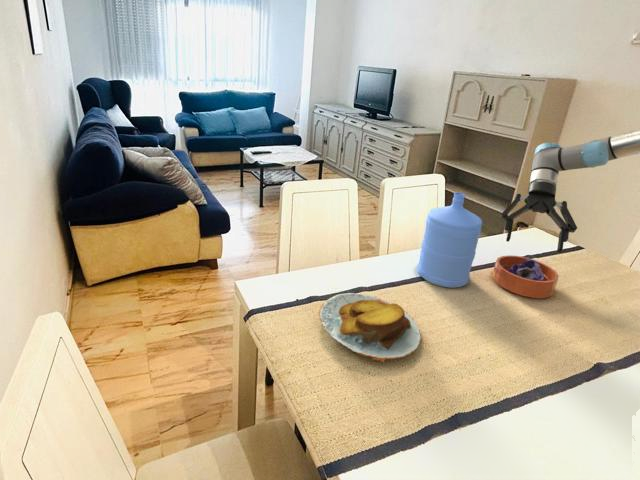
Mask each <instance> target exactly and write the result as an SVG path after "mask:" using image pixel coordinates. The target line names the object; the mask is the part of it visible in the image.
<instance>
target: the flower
mask: <svg viewBox="0 0 640 480" xmlns="http://www.w3.org/2000/svg"><path fill="white" fill-rule="evenodd" d="M529 259H530V260H527V261H523V263H522V264H518V265H514V266H513V267H511V268H510V269H509V272H510V273H512V274H515V275H517V276H519V277H523V278H526V279H530V280H536V281H543V280H544V276H543V274H542V271H541V269H540V265H539V264H538V263H537V262H536V261H537V260H536V259H533V258H529ZM535 260H536V261H535Z"/></svg>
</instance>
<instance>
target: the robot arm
mask: <svg viewBox="0 0 640 480" xmlns="http://www.w3.org/2000/svg"><path fill="white" fill-rule="evenodd" d="M639 154H640V128H635V129H633V130H632V129H631V130H629V131H627V132H626V131H625V132H621V133H618V134H614V135H611V136H607V137H604V138H600V139H598V138H597V139H594V140H591V141H588V142H584V143H581V144H575V145H570V146H566V147H562V145H560V144H559V143H556V142H543V143H541V144H539V145H537V146H536V148H535V150H534V154H533V157H532V165H531V172H530V177H529V182H528V189H527V195H526V196H524V195H522V194H521V193H517V194H516V196H515V199H514V200H512V201H511V202H510V204H509V205H508V206H507V207H506V208H505V209H504V210H503V211H502V212H501V214H500V216H499V219H500V220H503V221H504V222H505V223H504V231H507V234H506V240H505V241H506V242H510V240H511V238H512V236H511V235H512V231H513V227H514V220H516V219H517V218H518V217H520V216H521V215H523V214H525V213H527V212H529V211H531V212H532V213H539V214H546V215H547V216H548V217H549V218H550V219H551V220H552V221H553V222H554V223H555V224H556V226H557V227H558V228H559V230H560V231H559V233H558V234H559V235H558V241H557V249H556V252H558V253H561V252H562V251H563V249H564V244H565V243H567V242H568V240H569V235H570V233H571V234H572V233H575V232H576V231H577V230H578V226H577V224H576V223H575V220H574V218H573V216H572V215H571V213H570V210H569V209H568V202H567V201H566V200H563V201H556V194H557V186H558V181H559V180H558V179H559V173H560V172H564V171H571V170H580V169H581V170H582V169H587V168H588V169H590V168H592V169H593V168H597V167H602V166H605V165H607V163H608V162H609V161H613V160H617V159H618V160H619V159H621V158H626V157H631V156H635V155H639ZM522 202H524V203H525V204H524V205H523V206H522V207H520V208H518V209H517V210H515V211H514V212H512V211H513V210H514V209H515V208H516V207H517V206H518V204H519V203H522ZM556 207H557V209H558V210H559V211H560V214H561V216H562V217H561V216H560V214H558V212H557V211H556V209H555V208H556ZM511 212H512V213H511ZM510 213H511V214H510Z"/></svg>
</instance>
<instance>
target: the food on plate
mask: <svg viewBox="0 0 640 480" xmlns="http://www.w3.org/2000/svg"><path fill="white" fill-rule="evenodd" d="M318 317H319V321H320V322H321V324H322V325H321V326H323V327H324V330H325V331H326V332H327V333H328V334H329V335H330V337H331V338H333V339H334V340H336V341H337V342H338V343H339V344H342V345H343V346H345V347H346V348H347V349H350V350H351V352H353V353H354V352H355V353H357V355H360V356H363V357H371V359H372V360H373V361H380V362H385V360H389V361H390V360H394V359H399V358H400V359H401V358H405V357H408V356H409V355H410V354H413V353H414V352H415V351H416V349H417V348H418V347H419V346H420V341H421V340H422V338H421V336H422V335H421V334H420V333H421V330H420V329H419V328H418V325H417V324H416V322H415V320H414V318H413V317H412V316H410V314H408V312H407V311H405V310H404V308H402V306H400V305H399V304H397V303H391V302H388V301H385V300H383V299H382V298H380V297H377V296H375V295H370V294H363V293H356V292H347V293H339V294H335V295H333V296H331V297H329V298H327V300H325V302H323V303H322V304H321V306H320V309H319V311H318Z"/></svg>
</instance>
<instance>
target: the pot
mask: <svg viewBox="0 0 640 480" xmlns="http://www.w3.org/2000/svg"><path fill="white" fill-rule="evenodd" d="M530 259H531V258H529V257H525V256H520V255H501V256H499V257H497V259H496V260H495V264H494V268H493V271H492V274H491V275H492V279H493V281H494V282H495V283H496V284H497V285H499V286H500V287H501V288H503V289H505V290H507V291H508V292H511V293H513V294H516V295H519V296H523V297H527V298H532V299H545V298H549V297H551V296H553V295H554V292H555V289H556V286H557V284H558V281H559V274H558V272H557V271H556V270H555V269H553V268H552V267H551V266H549V265H547V264H545V263H543V262H541V261H539V260H536V259H534V260H535V261H536V262H537V263H538V264H539V265H540V269H541V271H542V274H543V276H544V280H543V281H536V280H530V279H526V278H523V277H519V276H517V275H515V274H512V273H510V272H509V269H510V268H511V267H513V266H514V265H518V264H522V263H523V261H527V260H530Z"/></svg>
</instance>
